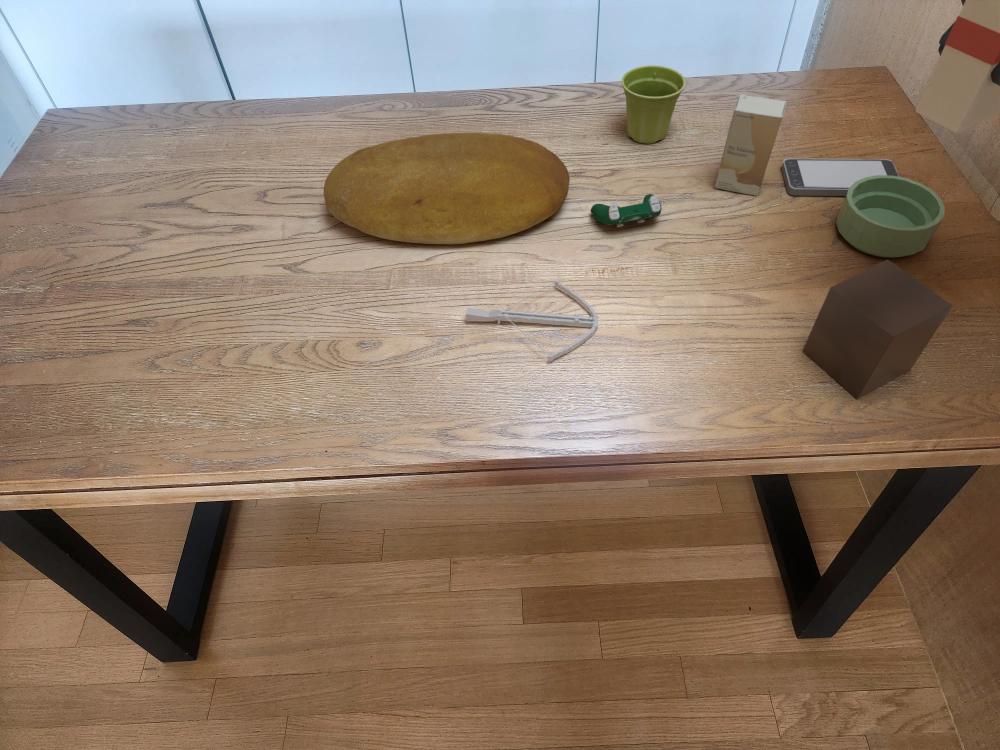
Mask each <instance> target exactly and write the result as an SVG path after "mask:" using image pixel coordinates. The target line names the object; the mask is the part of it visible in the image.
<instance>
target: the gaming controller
mask: <svg viewBox="0 0 1000 750" xmlns="http://www.w3.org/2000/svg"><path fill="white" fill-rule="evenodd" d="M661 212H662V203H661V201H660V200H659V198H658V197H657V195H654V194H652V193H648V194H646V195H644V197H643V200H642V202H641V203H637V204H636V203H635V204H630V205H626V206H619V205H618V204H617V203H616V202H611V204H610V205H607V204H604V203H595V204H593V205H592V206H591V208H590V213H591V215H592V216H593V217H594V219H596V220H597V221H598V222H600V223H602V224H604V225H606V226H612V225H614V226H616V228H621V227H624V226H625V223H627V222H631V221H635V222H636V223H637V224H643V223H645V221H646V219H649V218H654V217H658V216H660V215H661Z"/></svg>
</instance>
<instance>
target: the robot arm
mask: <svg viewBox="0 0 1000 750" xmlns="http://www.w3.org/2000/svg"><path fill="white" fill-rule="evenodd" d="M960 1H961V5H962V6H963V5H964V3H965V1H966V0H960ZM954 23H955V21H953V23H952V24H951V25H950V26H949V27H948V28H947V30H945V32H944V33H943V34H942V35H941V37H940V39H939V41H938V44H939V47H938V48H937V51H938V54H939V57H940V56H941V54H942V51H943V49H944V47H945V43H946V41H947V38H948V36H949V34H950V32H951V30H952V27H953V25H954ZM991 79H992V82H993V83H995V84H997V85H999V86H1000V62H999V64H998V65H997V66H996V67H995V68H994V69H993V70H992V72H991Z"/></svg>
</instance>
